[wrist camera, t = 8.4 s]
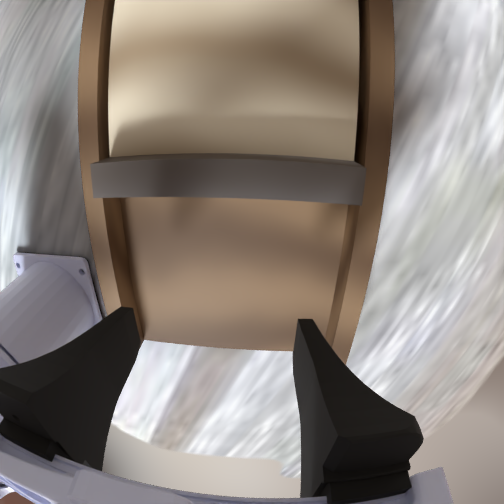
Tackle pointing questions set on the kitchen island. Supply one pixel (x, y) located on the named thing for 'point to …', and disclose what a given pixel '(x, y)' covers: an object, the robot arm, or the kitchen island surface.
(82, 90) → the walnut track
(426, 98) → the kitchen island surface
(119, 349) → the robot arm
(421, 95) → the kitchen island surface
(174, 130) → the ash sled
